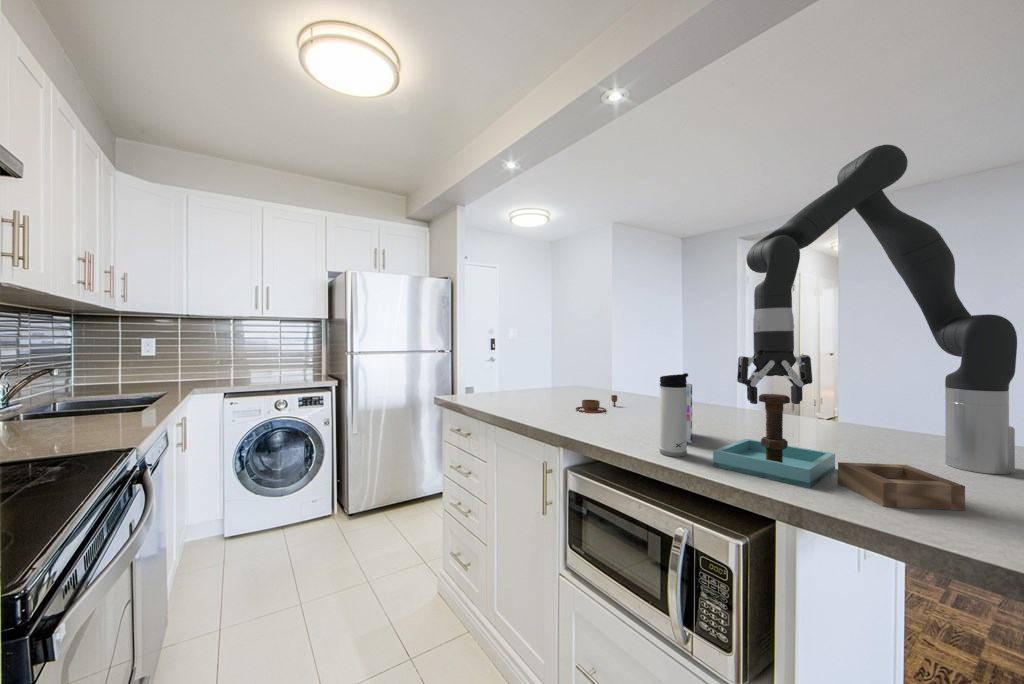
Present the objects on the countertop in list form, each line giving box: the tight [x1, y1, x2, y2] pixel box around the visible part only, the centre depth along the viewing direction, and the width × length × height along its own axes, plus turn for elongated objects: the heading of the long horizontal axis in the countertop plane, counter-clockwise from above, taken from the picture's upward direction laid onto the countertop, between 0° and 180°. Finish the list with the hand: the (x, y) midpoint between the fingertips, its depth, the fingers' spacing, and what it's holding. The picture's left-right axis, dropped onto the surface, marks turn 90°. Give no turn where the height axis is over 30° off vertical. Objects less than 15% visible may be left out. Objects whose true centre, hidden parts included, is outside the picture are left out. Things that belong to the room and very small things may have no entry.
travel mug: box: [659, 372, 689, 458], centre depth 103 cm, size 6×7×20 cm
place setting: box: [575, 394, 618, 415], centre depth 166 cm, size 18×20×6 cm
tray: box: [712, 438, 836, 489], centre depth 91 cm, size 18×18×4 cm
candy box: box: [686, 382, 693, 444], centre depth 120 cm, size 14×6×16 cm, turn 170°
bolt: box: [758, 393, 791, 463], centre depth 91 cm, size 6×5×15 cm
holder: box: [837, 461, 966, 511], centre depth 75 cm, size 12×12×4 cm
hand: (774, 403), depth 91 cm, fingers open, 8 cm apart
